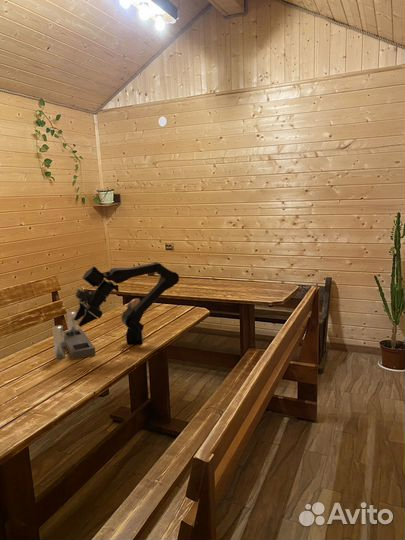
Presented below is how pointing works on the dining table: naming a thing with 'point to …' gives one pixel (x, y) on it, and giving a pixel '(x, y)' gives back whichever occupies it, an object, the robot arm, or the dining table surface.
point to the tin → (133, 302)
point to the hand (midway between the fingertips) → (76, 323)
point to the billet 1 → (59, 342)
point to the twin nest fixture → (78, 345)
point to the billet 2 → (72, 323)
